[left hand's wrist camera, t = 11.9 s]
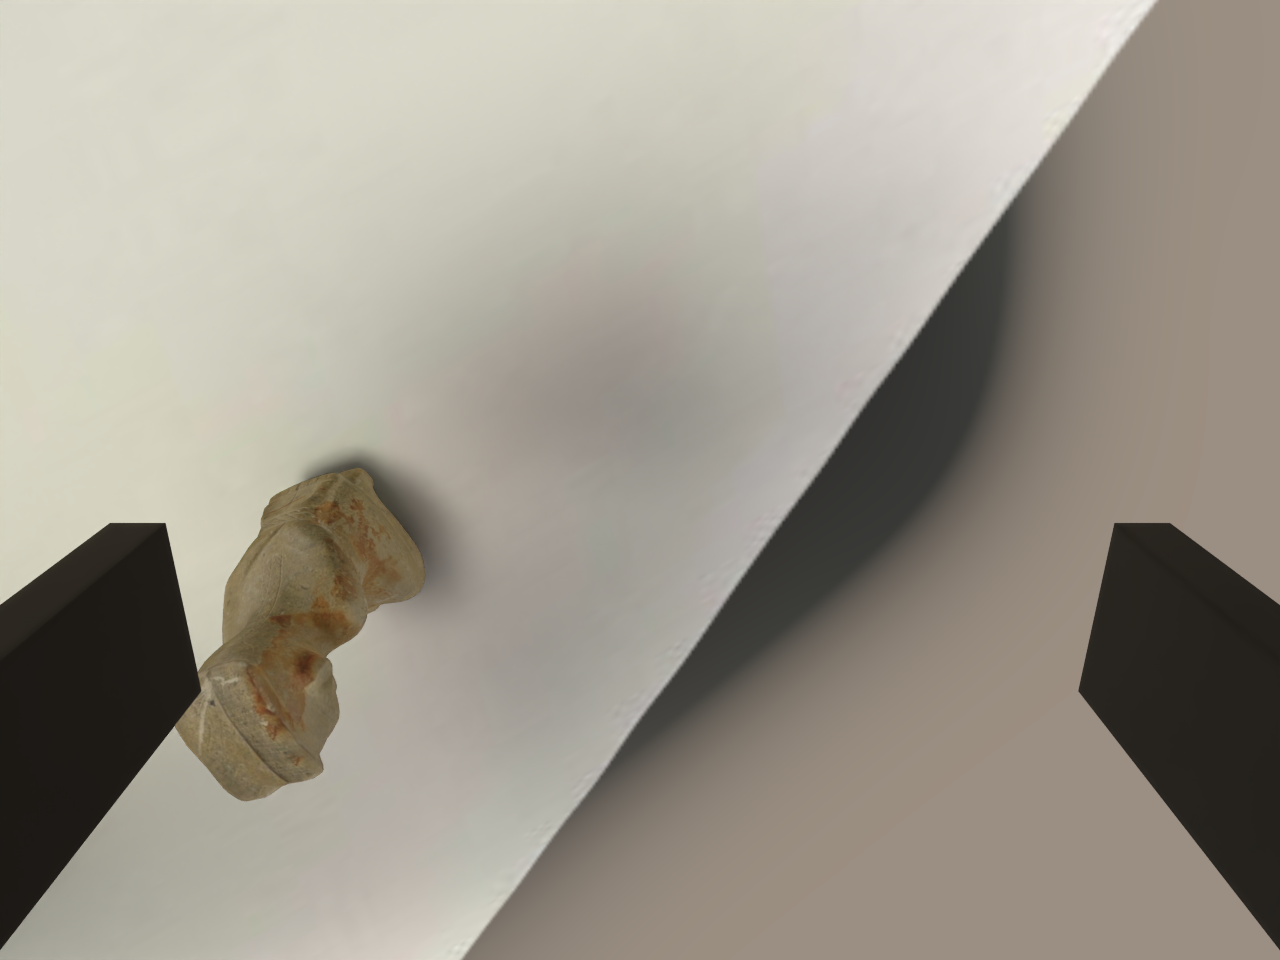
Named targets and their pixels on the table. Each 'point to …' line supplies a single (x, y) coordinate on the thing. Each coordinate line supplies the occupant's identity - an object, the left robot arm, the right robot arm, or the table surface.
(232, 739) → the sculpture
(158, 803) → the table surface
